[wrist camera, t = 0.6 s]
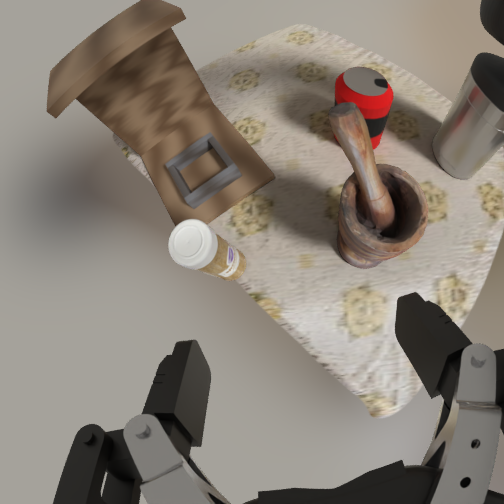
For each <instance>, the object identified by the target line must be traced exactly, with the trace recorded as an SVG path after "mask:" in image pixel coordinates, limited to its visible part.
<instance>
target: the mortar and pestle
mask: <svg viewBox="0 0 504 504" xmlns="http://www.w3.org/2000/svg"><path fill="white" fill-rule="evenodd" d="M328 115H329V121H330V124H331V128H332V130H333V132H334V134H335V136H336V138H337V140H338V142H339V144H340V145H341V148H342V149H343V151H344V153H345V155H346V156H347V158H348V160H349V161H350V163H351V165H352V167H353V170H354V173H353V174H352V175H351V176H350V177H349V178H348V179H347V180H346V182H345V184H344V186H343V188H342V192H341V198H340V204H339V213H338V222H339V231H338V235H337V243H338V249H339V252H340V254H341V256H342V257H343V258H344V259H345V260H346V261H347V262H348V263H350V264H351V265H353V266H355V267H358V268H363V269H367V268H372V267H376V266H377V265H378V264H380V263H381V262H382V261H383V260H388V259H390V258H393V257H396V256H398V255H400V254H401V253H403V252H404V251H406V250H407V249H409V248H410V247H412V246H413V245H415V244H416V243H417V242H418V241H419V240H420V238H421V237H422V236H423V234H424V230H425V228H426V226H427V220H428V204H427V200H426V197H425V194H424V192H423V190H422V189H421V187H420V185H419V183H418V182H417V181H416V180H415V179H414V178H413V177H412V176H410V175H409V174H408V173H407V172H406V171H402V170H401V169H400V168H398V167H395V166H391V165H387V164H376V163H375V157H374V152H373V148H372V143H371V139H370V136H369V131H368V127H367V124H366V121H365V119H364V117H363V115H362V113H361V112H360V110H359V108H358V107H357V105H356V104H355V103H352V102H346V103H340V104H338V105H336V106H334V107H332V108H331V109H330V111H329V113H328Z"/></svg>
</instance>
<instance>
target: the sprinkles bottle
mask: <svg viewBox="0 0 504 504" xmlns="http://www.w3.org/2000/svg"><path fill="white" fill-rule="evenodd" d="M168 249H169V253H170V255H171V257H172V259H173V260H174V261H175V262H176V263H177V264H179V265H181V266H183V267H186V268H189V269H197V270H199V271H201V272H203V273H206V274H209V275H212V276H216V277H220V278H222V279H224V280H228V281H232V280H235V279H237V278H239V277H240V276H241V275H242V274H243V272H244V270H245V267H246V260H245V257H244V255H243V253H242V252H241V251H239V250H238V249H236V248H235V247H234V246H232V245H231V244H230V243H228V242H227V241H226V240H224V239H222V238H221V237H220V236H218V235H217V234H215V232H214V231H213V229H212V228H211V227H209V226H208V225H207V224H205V223H204V222H202V221H200V220H197V219H188V220H185V221H183V222H181V223H179V224H178V225H177V226H176V227H175V228H174V229H173V231H172V233H171V235H170V237H169V242H168Z"/></svg>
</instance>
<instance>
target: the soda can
mask: <svg viewBox="0 0 504 504" xmlns="http://www.w3.org/2000/svg"><path fill="white" fill-rule="evenodd" d="M392 100H393V91H392V88H391V87H390V85H389V84H388V82H387V81H386V79H385V78H384V77H383V76H382V75H381V74H380V73H378V72H377V71H375V70H372V69H370V68H366V67H353V68H350V69H348V70H347V71H345V72H344V73H342V74H341V75H339V76H338V78H337V79H336V83H335V106H336V105H338V104H340V103H346V102H352V103H355V104H356V105H357V107H358V108H359V110H360V112H361V113H362V115H363V117H364V119H365V121H366V124H367V127H368V131H369V136H370V139H371V143H372V148H373V149H375V148H376V147H377V146H378V144H379V143H380V139H381V136H382V133H383V130H384V127H385V124H386V121H387V117H388V114H389V111H390V107H391V104H392ZM334 136H335V134H334ZM335 138H336V136H335ZM336 140H337V138H336ZM337 141H338V140H337Z"/></svg>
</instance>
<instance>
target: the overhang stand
mask: <svg viewBox="0 0 504 504" xmlns="http://www.w3.org/2000/svg"><path fill="white" fill-rule="evenodd" d="M185 19H186V17H185V15H184V13H183V12H182V10H181V8H179V7H177V6H174V5H172V4H169V3H167V2H164V1H162V0H141V1H139V2H138V3H136V4H134V5H132V6H131V7H129V8H128V9H126V10H125V11H123V12H122V13H120V14H118V15H117V16H116V17H114V18H113V19H111V20H110V21H108V22H107V23H106V24H104V25H103V26H102V27H100V28H99V29H97V30H96V31H95V32H94V33H92V34H91V35H90V36H88V37H87V38H86V39H85V40H84V41H82V42H81V43H80V44H79V45H78V46H76V47H75V48H74V49H73V50H72V51H71V52H70V53H68V54H67V55H66V56H65V57H64V58H63V59H62V60H61V61H60V62H59V63H58V64H57V65H56V66H55V67H54V68H53V69H52V70H51V71H50V78H49V86H48V99H47V112H48V113H49V114H51V115H52V116H54V117H55V118H57V117H58V116H59V115H60V114H61V112H62V111H63V110H64V109H65V108H66V107H67V106H68V105H69V104H70V103H71V102H72V101H73V100H74V99H77V100H78V101H79V102H80V103H81V104H82V105H83V106H85V107H86V108H87V109H88V110H89V111H90V112H92V113H93V114H94V115H95V116H96V117H97V118H98V119H99V120H100V121H102V122H103V123H104V124H105V125H106V126H107V127H108V128H109V129H111V130H112V131H113V132H114V133H115V134H116V135H117V136H119V137H120V138H121V139H122V140H123V141H124V142H125V143H127V144H128V145H129V146H130V147H131V148H132V149H133V150H134V151H136V152H137V153H138V154H139V155H140V156H141V157H142V159H143V162H144V164H145V166H146V168H147V170H148V172H149V174H150V176H151V178H152V180H153V183H154V185H155V187H156V189H157V191H158V193H159V195H160V197H161V199H162V201H163V203H164V205H165V207H166V209H167V211H168V213H169V214H170V217H171V219H172V220H173V222H174V224H175V226H177V225H178V224H179V223H181V222H183V221H185V220H188V219H197V220H200V221H202V222H204V223H205V224H208V223H210V222H211V221H213V220H214V219H215V218H217V217H218V216H220V215H221V214H222V213H224V212H225V211H227V210H228V209H230V208H231V207H233V206H234V205H235V204H237V203H238V202H240V201H241V200H243V199H244V198H246V197H247V196H249V195H250V194H252V193H253V192H255V191H256V190H258V189H259V188H261V187H262V186H264V185H265V184H267V183H268V182H270V181H271V180H273V179H274V178H275V176H274V174H273V173H272V171H271V170H270V169H269V168H268V166H267V165H266V164H265V163H264V162H263V160H262V159H261V158H260V157H259V156H258V154H257V153H256V152H255V151H254V150H253V148H252V147H251V146H250V145H249V144H248V142H247V141H246V140H245V139H244V138H243V137H242V135H241V134H240V133H239V132H238V131H237V130H236V129H235V127H234V126H233V125H232V124H231V123H230V122H229V121H228V119H227V118H226V117H225V116H224V115H223V114H222V113H221V112H220V111H219V109H218V108H217V107H216V106H215V105H214V104H213V102H212V100H211V98H210V96H209V94H208V93H207V91H206V89H205V87H204V85H203V83H202V81H201V80H200V78H199V76H198V74H197V72H196V71H195V69H194V67H193V65H192V63H191V62H190V60H189V58H188V56H187V54H186V53H185V51H184V49H183V47H182V46H181V44H180V42H179V41H178V39H177V37H176V35H175V34H174V32H173V30H172V28H171V27H172V26H174V25H176V24H177V23H179V22H181V21H183V20H185Z"/></svg>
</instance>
